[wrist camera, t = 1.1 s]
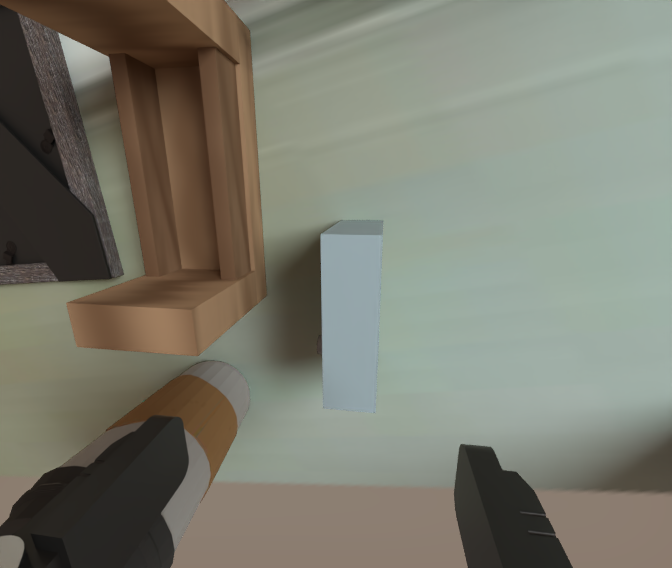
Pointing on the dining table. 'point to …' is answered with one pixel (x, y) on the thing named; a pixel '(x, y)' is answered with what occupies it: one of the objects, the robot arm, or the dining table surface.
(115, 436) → the coffee cup
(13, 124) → the picture frame
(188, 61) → the track
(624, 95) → the dining table surface
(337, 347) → the door panel
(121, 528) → the robot arm
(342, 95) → the dining table surface
